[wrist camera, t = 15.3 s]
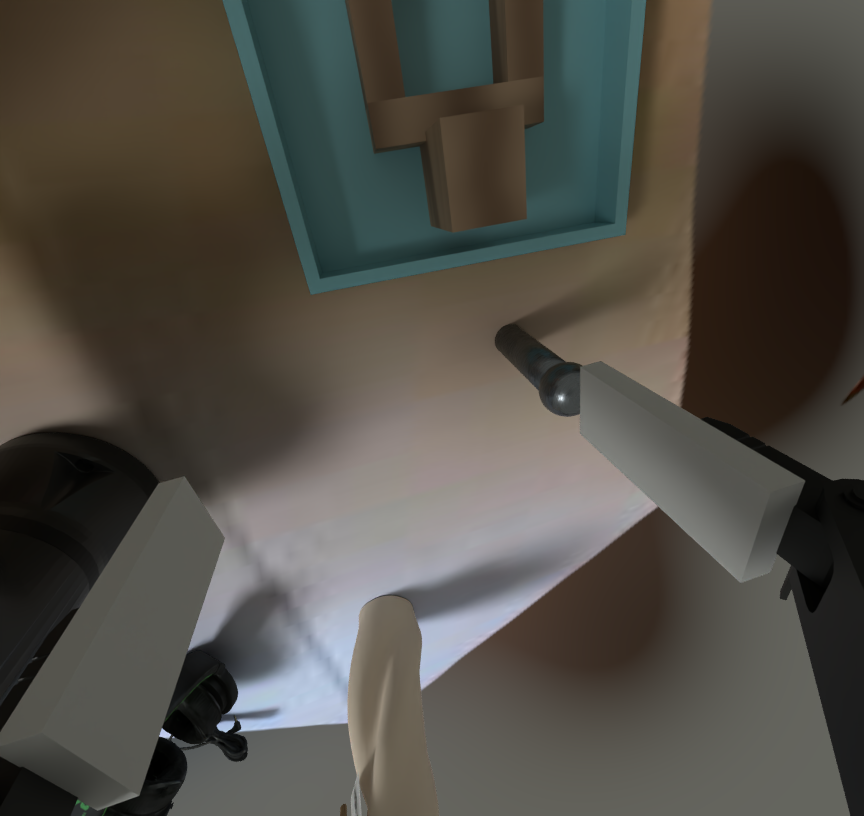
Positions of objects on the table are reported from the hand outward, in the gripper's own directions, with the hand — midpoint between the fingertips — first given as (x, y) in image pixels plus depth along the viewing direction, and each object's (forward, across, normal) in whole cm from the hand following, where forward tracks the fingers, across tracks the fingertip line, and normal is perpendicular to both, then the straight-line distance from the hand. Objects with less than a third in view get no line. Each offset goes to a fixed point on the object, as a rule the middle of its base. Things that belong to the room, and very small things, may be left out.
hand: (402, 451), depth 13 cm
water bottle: (+25, -9, -43) cm, 51 cm away
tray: (+24, +10, +13) cm, 29 cm away
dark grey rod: (+24, +13, -7) cm, 29 cm away
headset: (+26, -35, -45) cm, 63 cm away
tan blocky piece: (+23, +10, +13) cm, 29 cm away
